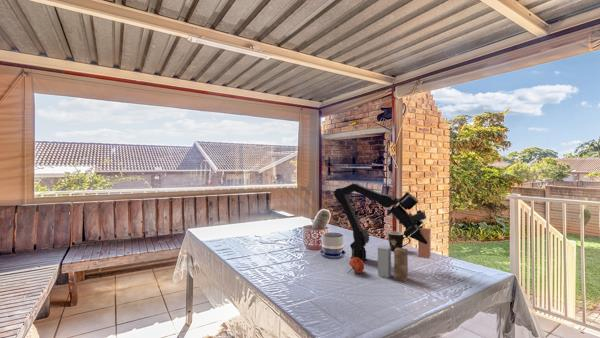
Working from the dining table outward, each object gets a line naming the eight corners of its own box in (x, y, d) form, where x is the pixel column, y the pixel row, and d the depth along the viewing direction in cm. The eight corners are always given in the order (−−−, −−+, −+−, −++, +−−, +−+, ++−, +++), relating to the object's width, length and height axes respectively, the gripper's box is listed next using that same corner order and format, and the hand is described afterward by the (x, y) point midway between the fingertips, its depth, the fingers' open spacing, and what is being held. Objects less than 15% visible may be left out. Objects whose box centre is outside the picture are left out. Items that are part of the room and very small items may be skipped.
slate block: (378, 276, 123) (377, 247, 123) (381, 272, 127) (380, 245, 127) (388, 278, 121) (388, 249, 121) (391, 274, 124) (390, 246, 124)
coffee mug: (385, 249, 163) (384, 232, 163) (396, 247, 167) (396, 231, 167) (399, 255, 152) (399, 236, 153) (411, 252, 156) (411, 235, 156)
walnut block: (394, 279, 119) (394, 250, 119) (397, 275, 123) (396, 247, 123) (405, 281, 117) (405, 251, 117) (407, 277, 121) (407, 249, 121)
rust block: (418, 256, 128) (418, 229, 128) (420, 254, 132) (420, 227, 132) (429, 258, 125) (429, 230, 125) (430, 255, 129) (430, 228, 129)
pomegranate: (353, 281, 123) (371, 267, 123) (342, 267, 124) (360, 253, 124) (351, 276, 130) (368, 263, 130) (341, 263, 131) (358, 250, 131)
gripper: (411, 207, 123) (439, 235, 117) (418, 203, 139) (443, 227, 133) (393, 223, 127) (419, 251, 121) (402, 217, 143) (425, 241, 137)
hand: (427, 242), depth 128 cm, fingers closed on rust block, 4 cm apart
